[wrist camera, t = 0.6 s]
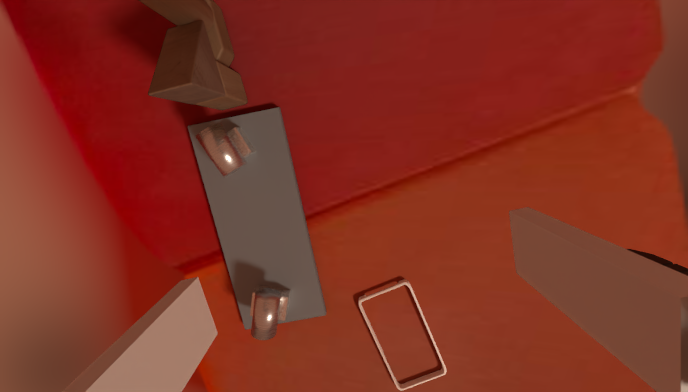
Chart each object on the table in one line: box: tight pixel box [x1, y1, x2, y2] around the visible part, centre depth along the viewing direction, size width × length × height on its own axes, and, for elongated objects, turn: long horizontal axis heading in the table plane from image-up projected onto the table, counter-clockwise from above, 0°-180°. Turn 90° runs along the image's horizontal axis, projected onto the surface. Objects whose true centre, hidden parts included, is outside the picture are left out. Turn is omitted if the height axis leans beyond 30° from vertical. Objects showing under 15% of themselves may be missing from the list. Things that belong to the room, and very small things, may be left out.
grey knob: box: [250, 285, 291, 340], centre depth 39 cm, size 5×4×5 cm
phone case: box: [358, 279, 446, 391], centre depth 43 cm, size 7×1×15 cm
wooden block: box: [139, 0, 247, 110], centre depth 28 cm, size 4×11×18 cm, turn 14°
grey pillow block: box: [196, 123, 256, 177], centre depth 35 cm, size 5×4×5 cm
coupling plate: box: [188, 107, 326, 330], centre depth 40 cm, size 27×11×1 cm, turn 11°
